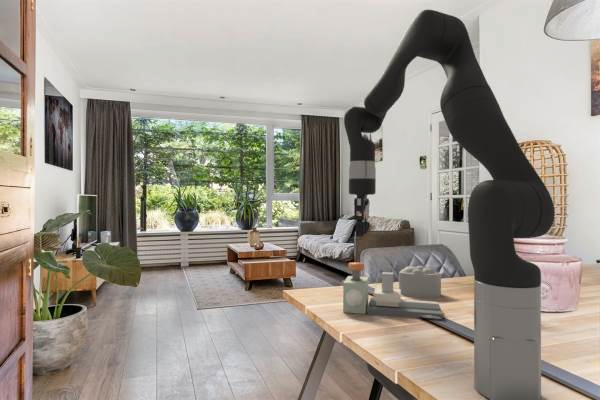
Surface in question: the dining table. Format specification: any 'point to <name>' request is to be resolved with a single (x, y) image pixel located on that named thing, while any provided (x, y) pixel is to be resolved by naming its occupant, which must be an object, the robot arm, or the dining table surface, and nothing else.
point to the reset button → (356, 270)
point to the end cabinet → (355, 295)
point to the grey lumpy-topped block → (420, 282)
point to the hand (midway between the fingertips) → (361, 234)
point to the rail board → (406, 309)
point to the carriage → (387, 292)
